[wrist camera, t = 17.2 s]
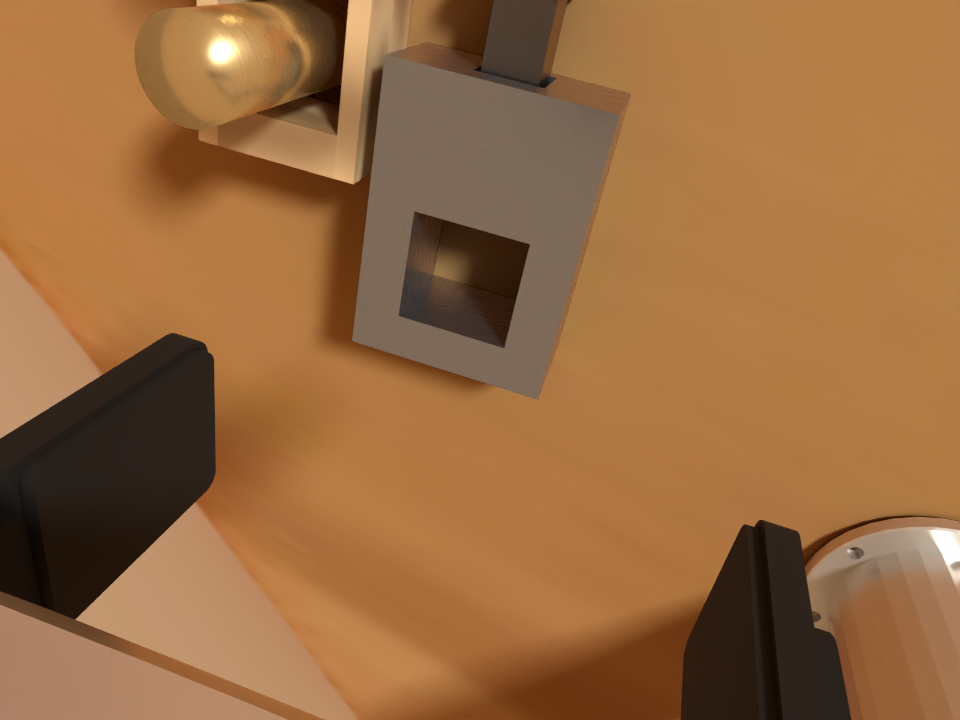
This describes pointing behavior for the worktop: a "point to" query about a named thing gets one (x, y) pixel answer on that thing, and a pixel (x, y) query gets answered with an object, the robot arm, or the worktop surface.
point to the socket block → (479, 210)
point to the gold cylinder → (239, 57)
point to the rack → (321, 125)
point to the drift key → (523, 39)
